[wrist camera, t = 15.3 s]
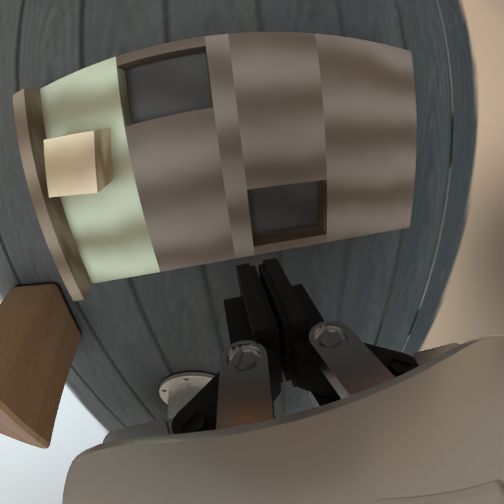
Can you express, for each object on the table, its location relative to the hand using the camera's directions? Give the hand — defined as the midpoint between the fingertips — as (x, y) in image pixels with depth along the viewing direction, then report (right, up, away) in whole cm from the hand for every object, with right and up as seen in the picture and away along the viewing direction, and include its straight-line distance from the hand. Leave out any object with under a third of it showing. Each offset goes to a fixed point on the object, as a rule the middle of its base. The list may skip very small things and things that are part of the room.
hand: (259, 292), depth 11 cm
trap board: (-2, +12, +14) cm, 19 cm away
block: (-30, -7, +19) cm, 37 cm away
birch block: (-15, +10, +9) cm, 21 cm away
